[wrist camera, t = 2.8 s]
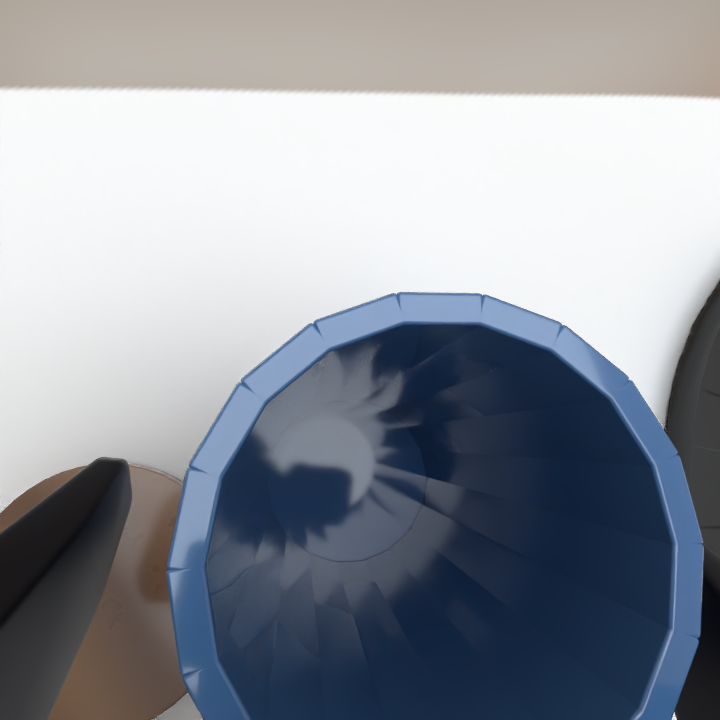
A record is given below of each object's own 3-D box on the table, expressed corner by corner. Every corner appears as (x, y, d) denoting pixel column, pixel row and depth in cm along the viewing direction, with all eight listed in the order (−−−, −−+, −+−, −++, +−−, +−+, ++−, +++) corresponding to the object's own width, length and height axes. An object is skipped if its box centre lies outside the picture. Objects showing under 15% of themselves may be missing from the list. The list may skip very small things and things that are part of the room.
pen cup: (359, 606, 17) (513, 1009, 5) (220, 491, 17) (35, 613, 5) (463, 464, 18) (793, 510, 6) (333, 356, 18) (404, 191, 6)
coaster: (113, 785, 16) (106, 798, 15) (-89, 617, 16) (-104, 624, 15) (284, 565, 17) (284, 569, 17) (100, 413, 17) (93, 412, 17)
